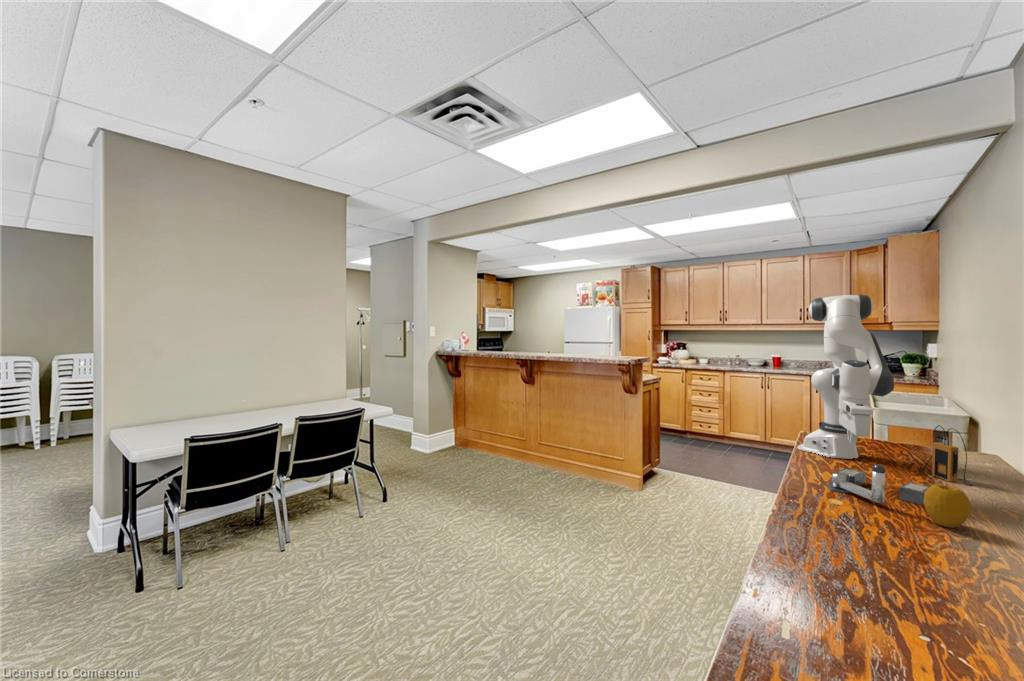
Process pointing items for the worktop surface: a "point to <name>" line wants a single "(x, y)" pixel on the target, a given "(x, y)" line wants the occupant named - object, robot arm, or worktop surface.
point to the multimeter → (946, 460)
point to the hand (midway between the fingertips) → (852, 442)
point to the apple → (947, 505)
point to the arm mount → (837, 489)
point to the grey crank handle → (874, 495)
